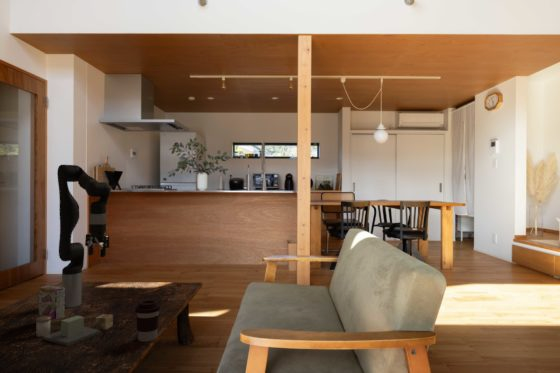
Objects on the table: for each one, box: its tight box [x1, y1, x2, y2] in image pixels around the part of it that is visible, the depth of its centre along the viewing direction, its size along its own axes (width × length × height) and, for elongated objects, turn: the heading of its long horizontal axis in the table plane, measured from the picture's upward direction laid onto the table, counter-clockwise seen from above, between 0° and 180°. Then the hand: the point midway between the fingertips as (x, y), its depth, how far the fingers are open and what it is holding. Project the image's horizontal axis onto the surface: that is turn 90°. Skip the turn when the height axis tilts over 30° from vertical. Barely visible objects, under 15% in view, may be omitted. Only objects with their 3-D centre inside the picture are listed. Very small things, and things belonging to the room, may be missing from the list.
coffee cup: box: [134, 299, 162, 343], centre depth 152 cm, size 10×10×15 cm
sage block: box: [60, 315, 85, 337], centre depth 154 cm, size 4×7×6 cm, turn 155°
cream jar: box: [35, 316, 51, 338], centre depth 156 cm, size 5×5×7 cm
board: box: [42, 326, 102, 347], centre depth 154 cm, size 15×15×1 cm
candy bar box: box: [38, 285, 66, 320], centre depth 169 cm, size 11×5×16 cm, turn 71°
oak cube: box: [94, 313, 114, 331], centre depth 164 cm, size 5×5×5 cm
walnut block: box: [50, 317, 67, 333], centre depth 162 cm, size 4×6×4 cm, turn 135°
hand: (96, 256), depth 180 cm, fingers open, 8 cm apart
